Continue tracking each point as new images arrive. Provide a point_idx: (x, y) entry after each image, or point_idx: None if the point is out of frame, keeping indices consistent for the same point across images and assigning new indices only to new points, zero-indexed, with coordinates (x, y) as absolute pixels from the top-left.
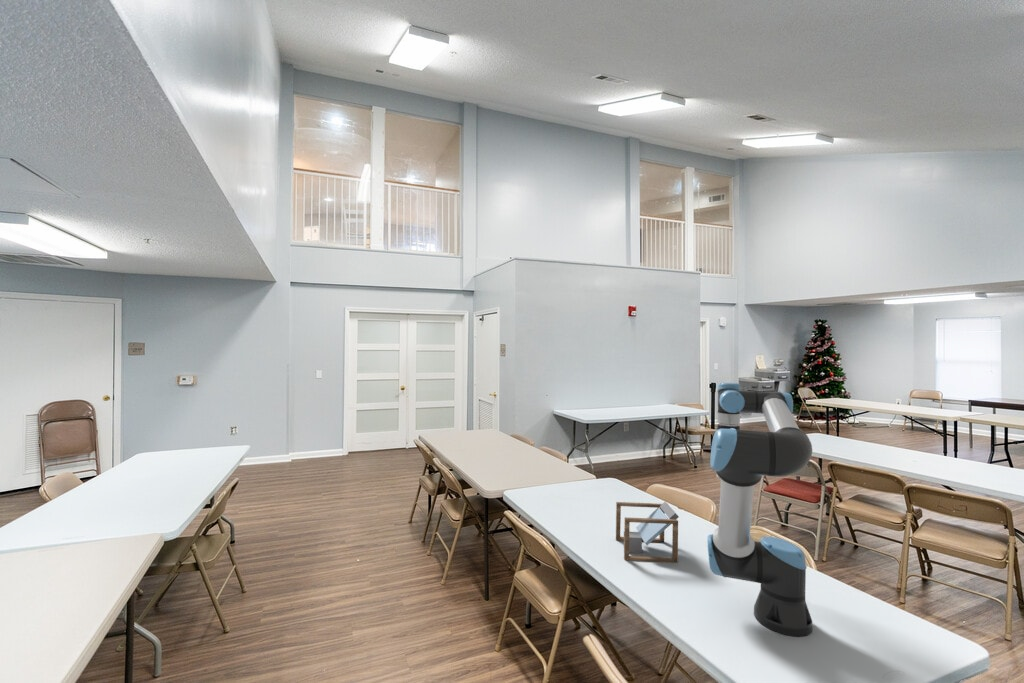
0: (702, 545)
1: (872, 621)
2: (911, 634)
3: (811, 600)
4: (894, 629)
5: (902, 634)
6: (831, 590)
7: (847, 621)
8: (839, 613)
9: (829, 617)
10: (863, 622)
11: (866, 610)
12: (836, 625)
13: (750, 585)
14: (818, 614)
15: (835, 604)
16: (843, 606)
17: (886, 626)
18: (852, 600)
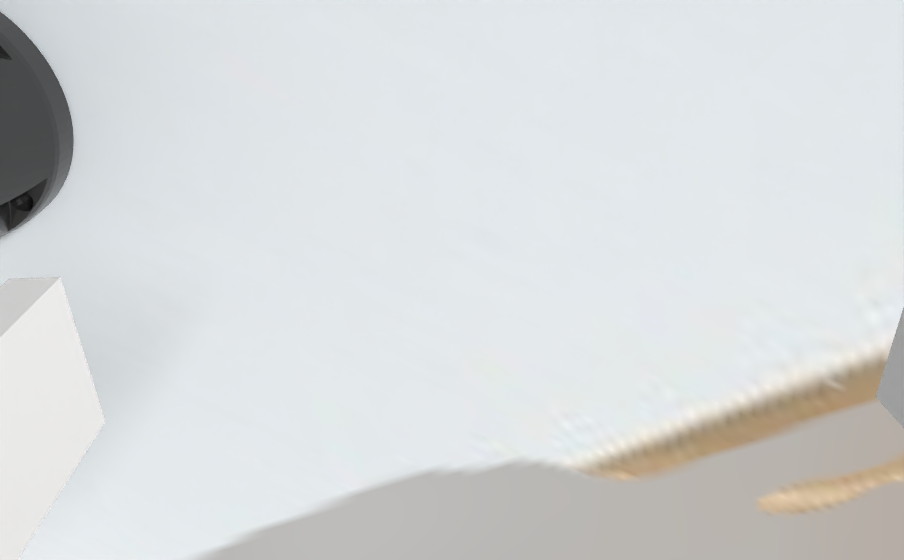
0: (867, 7)
1: (103, 470)
2: (53, 536)
3: (215, 337)
4: (68, 506)
5: None
6: (336, 455)
7: None
8: (127, 391)
9: None
10: None
11: (190, 492)
12: None
13: (304, 107)
14: (85, 307)
15: (206, 412)
16: (197, 432)
17: (81, 494)
18: (263, 486)
